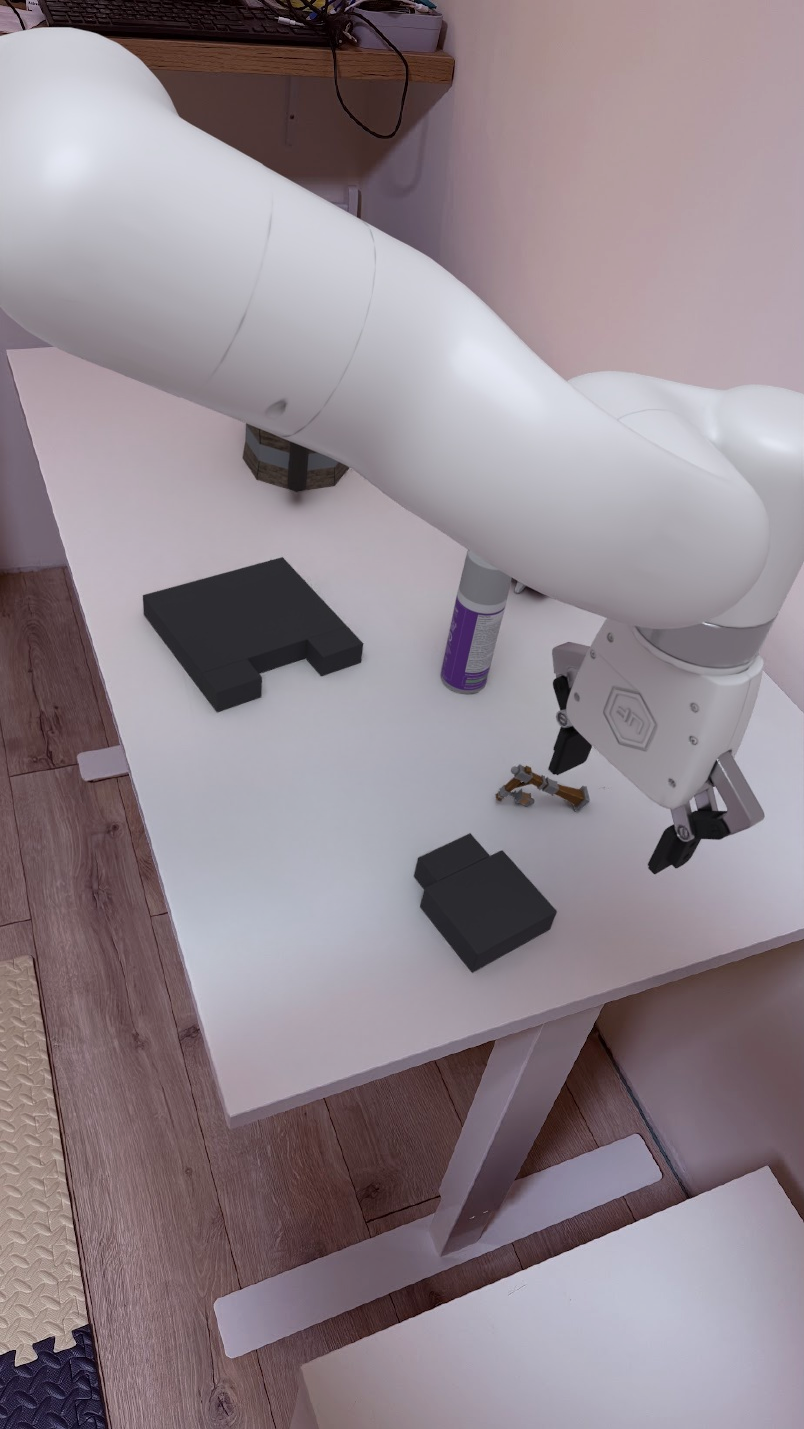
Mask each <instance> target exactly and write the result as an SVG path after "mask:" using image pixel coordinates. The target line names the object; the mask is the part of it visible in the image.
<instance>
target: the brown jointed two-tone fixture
mask: <svg viewBox="0 0 804 1429" xmlns="http://www.w3.org/2000/svg"><path fill="white" fill-rule="evenodd" d="M532 770H533V769H532V767H531V766H529V765H525V766H524V765H522V764H521V763H519V764H518V765H517V766H515V765H514V766H512V767H511V768H510V773H511V774H512V775H513V777H512V778H511V779H510V780H509V781H508V782H507V783H505V784H503V785H502V786H501V787H500V788H499V789H498V791H497V792H496V793H495V795H494V796H495V800H496V801H499V802H502V801H503V800H504V799H505V798H508V797H509V796H511V798H512V800H513V799H514V800H515V805H518V804H521V805H523V806H525V808H527V807H528V806H529V805H533V804H534V803H535V798H533V797H532V793H531V792H526V791H523V788H522V787H525V786H530V785H533V786H534V787H536V788H537V790H538V791H541V792H543V793H546V794H549V795H550V796H554V795H555V796H556V797H559V798H561V799H563V800H564V801H567V802H568V803H570V804H571V805H573V810H574V812H577V813H579V812H580V811H581V810H583V808H584V807H586V806H587V805H588V804H589V803H590V802H591V797H590V794H589V791H588V790H589V789H588V786H587V785H581V786H580V787H579V788H575V787H571V786H567V785H562V784H560V783H558V781H557V780H554V779H551V778H550V777H549V776H546V775H543V774H541V775H539V774H537V773H535V772H533V771H532ZM518 788H520V789H519V790H518V791H516V790H515V789H518Z"/></svg>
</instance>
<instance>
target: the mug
mask: <svg viewBox="0 0 804 1429" xmlns="http://www.w3.org/2000/svg"><path fill="white" fill-rule="evenodd" d="M244 437H245V438H244V444H243V445H244V446H243V451H242V452H243V453H242V460H243V461H244V463H245V465H246V466H247V467H248V469H249V470H250V472H251V473H252V475H253V476H254V478H255V479H256V480H258V481H260V482H263V483H267V484H272V485H274V486H277V487H280V488H284V489H287V490H289V491H290V492H291V491H292V492H294V493H302V492H304V491H306V490H314V489H320V488H330V487H335V486H336V485H337V484H338V482H340V480H341V479H342V477H343V476H344V475H345V474H346V472H347V471H348V470H349V469H351V468H350V467H348V466H346V465H344V464H342V463H340V462H338V461H336V460H334V459H332V458H330V457H328V456H325V455H323V454H320V453H318V452H316V451H313V450H311V449H308V448H306V447H303V446H301V445H298V444H296V443H293V442H291V441H288V440H286V439H283V438H281V437H278V436H276V435H274V434H272V433H269V432H267V431H264V430H262V429H259V428H257V427H254V426H252V425H249V424H247V423H245V436H244Z"/></svg>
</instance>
